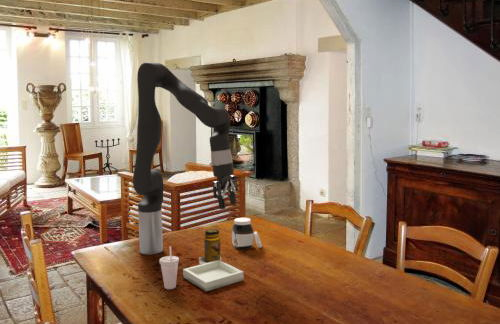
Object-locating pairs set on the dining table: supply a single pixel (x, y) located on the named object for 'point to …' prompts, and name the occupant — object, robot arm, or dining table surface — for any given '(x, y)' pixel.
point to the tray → (213, 275)
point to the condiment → (211, 246)
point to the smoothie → (169, 270)
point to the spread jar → (244, 234)
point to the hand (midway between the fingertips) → (228, 206)
